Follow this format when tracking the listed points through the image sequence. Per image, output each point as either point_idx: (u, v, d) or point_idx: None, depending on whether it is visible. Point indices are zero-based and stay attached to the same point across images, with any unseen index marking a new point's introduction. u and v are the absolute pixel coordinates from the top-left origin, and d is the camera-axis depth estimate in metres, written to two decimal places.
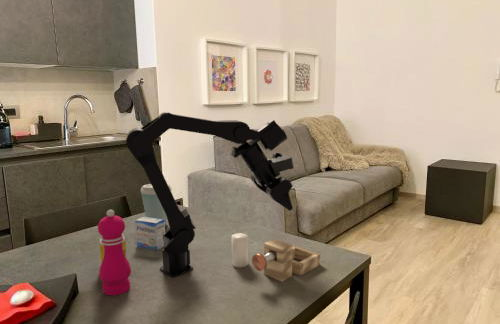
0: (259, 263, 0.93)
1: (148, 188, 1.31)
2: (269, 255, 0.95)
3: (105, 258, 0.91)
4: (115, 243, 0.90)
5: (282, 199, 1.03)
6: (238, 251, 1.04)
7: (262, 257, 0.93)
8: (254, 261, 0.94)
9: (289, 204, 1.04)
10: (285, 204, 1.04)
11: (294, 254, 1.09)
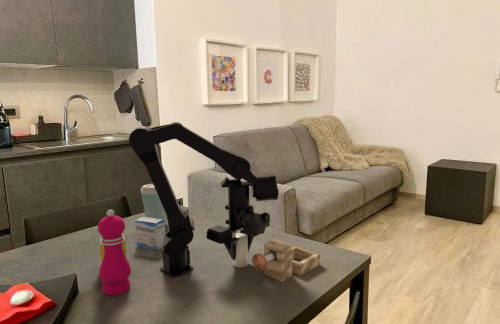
0: (259, 263, 0.93)
1: (148, 188, 1.31)
2: (269, 255, 0.95)
3: (105, 258, 0.91)
4: (115, 243, 0.90)
5: (228, 244, 1.03)
6: (238, 251, 1.04)
7: (262, 257, 0.93)
8: (254, 261, 0.94)
9: (232, 254, 1.04)
10: (228, 250, 1.04)
11: (294, 254, 1.09)
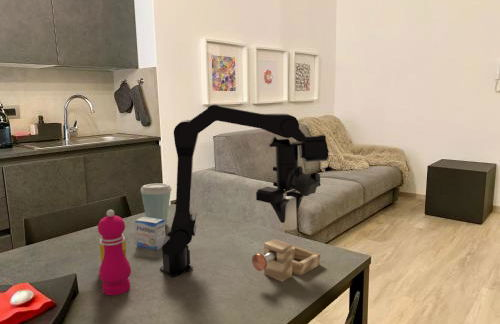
0: (259, 263, 0.93)
1: (148, 188, 1.31)
2: (269, 255, 0.95)
3: (105, 258, 0.91)
4: (115, 243, 0.90)
5: (277, 206, 1.00)
6: (287, 213, 1.01)
7: (262, 257, 0.93)
8: (254, 261, 0.94)
9: (281, 216, 1.01)
10: (277, 213, 1.01)
11: (294, 254, 1.09)
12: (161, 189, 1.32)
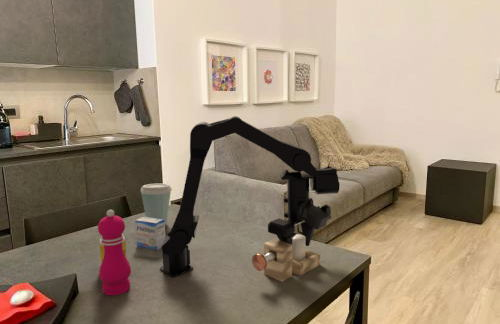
0: (259, 263, 0.93)
1: (148, 188, 1.31)
2: (269, 255, 0.95)
3: (105, 258, 0.91)
4: (115, 243, 0.90)
5: (283, 239, 1.01)
6: (297, 252, 1.02)
7: (262, 257, 0.93)
8: (254, 261, 0.94)
9: None
10: None
11: None
12: (161, 189, 1.32)
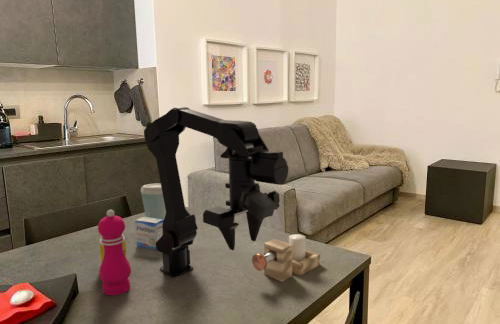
0: (259, 263, 0.93)
1: (148, 188, 1.31)
2: (269, 255, 0.95)
3: (105, 258, 0.91)
4: (115, 243, 0.90)
5: (225, 230, 0.85)
6: (297, 252, 1.02)
7: (262, 257, 0.93)
8: (254, 261, 0.94)
9: (230, 242, 0.85)
10: (226, 238, 0.86)
11: None
12: (161, 189, 1.32)
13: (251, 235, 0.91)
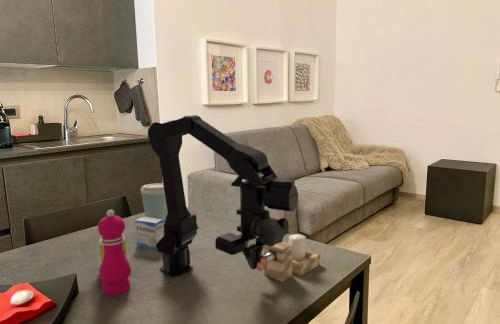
0: (259, 263, 0.93)
1: (148, 188, 1.31)
2: (269, 255, 0.96)
3: (105, 258, 0.91)
4: (115, 243, 0.90)
5: (246, 251, 0.91)
6: (297, 252, 1.02)
7: (262, 257, 0.93)
8: None
9: (251, 262, 0.91)
10: (247, 258, 0.92)
11: None
12: (161, 189, 1.32)
13: None
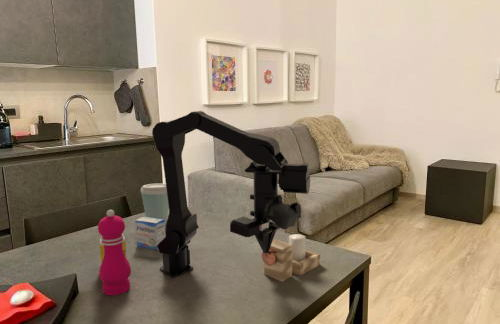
0: (269, 258, 0.96)
1: (148, 188, 1.31)
2: None
3: (105, 258, 0.91)
4: (115, 243, 0.90)
5: (259, 235, 0.94)
6: (297, 252, 1.02)
7: (272, 252, 0.95)
8: (264, 257, 0.97)
9: (263, 246, 0.94)
10: (260, 242, 0.94)
11: None
12: (161, 189, 1.32)
13: None
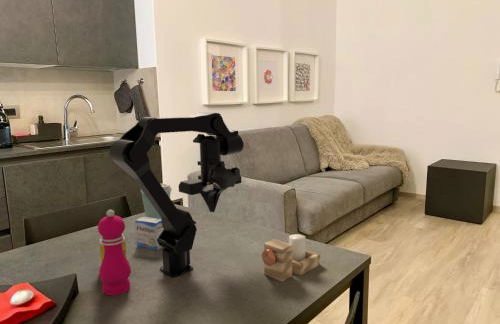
0: (269, 258, 0.96)
1: None
2: None
3: (105, 258, 0.91)
4: (115, 243, 0.90)
5: (206, 196, 1.09)
6: (297, 252, 1.02)
7: (272, 252, 0.95)
8: (264, 257, 0.97)
9: (210, 206, 1.09)
10: (207, 203, 1.10)
11: None
12: None
13: None
